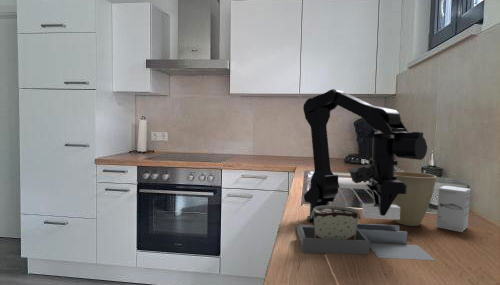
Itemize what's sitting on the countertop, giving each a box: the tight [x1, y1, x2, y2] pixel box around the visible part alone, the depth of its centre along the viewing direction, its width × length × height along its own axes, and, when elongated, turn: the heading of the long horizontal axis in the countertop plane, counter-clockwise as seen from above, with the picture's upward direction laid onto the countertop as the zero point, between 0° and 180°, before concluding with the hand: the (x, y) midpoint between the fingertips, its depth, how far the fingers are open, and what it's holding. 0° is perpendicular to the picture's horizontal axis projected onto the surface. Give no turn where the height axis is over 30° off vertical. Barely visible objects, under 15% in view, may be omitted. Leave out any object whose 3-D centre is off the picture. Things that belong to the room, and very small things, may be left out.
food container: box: [311, 204, 362, 240], centre depth 89 cm, size 12×6×10 cm, turn 92°
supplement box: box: [436, 185, 471, 233], centre depth 108 cm, size 7×7×13 cm
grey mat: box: [370, 243, 436, 261], centre depth 86 cm, size 10×13×1 cm
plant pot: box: [391, 170, 437, 227], centre depth 112 cm, size 15×15×16 cm
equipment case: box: [295, 224, 371, 255], centre depth 94 cm, size 21×16×4 cm
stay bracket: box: [357, 223, 408, 245], centre depth 94 cm, size 6×12×4 cm, turn 87°
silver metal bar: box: [361, 203, 400, 220], centre depth 94 cm, size 3×9×3 cm, turn 87°
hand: (380, 213), depth 94 cm, fingers closed on silver metal bar, 3 cm apart
